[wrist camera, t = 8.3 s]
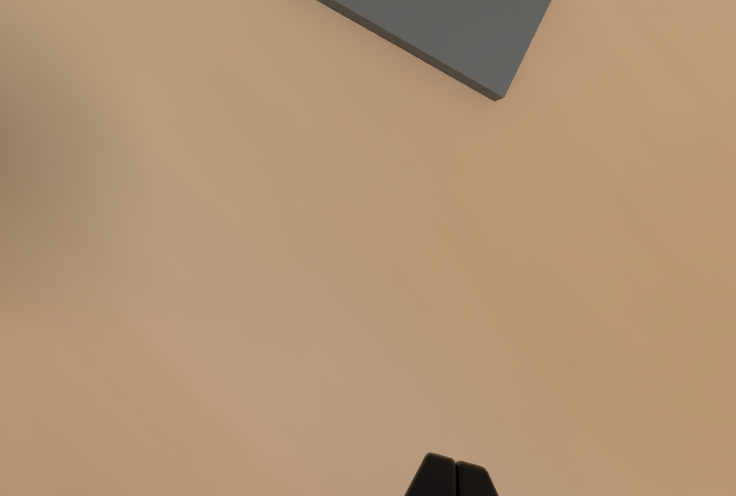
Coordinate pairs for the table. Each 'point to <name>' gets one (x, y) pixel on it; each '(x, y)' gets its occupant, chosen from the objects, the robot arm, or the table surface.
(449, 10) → the grey block
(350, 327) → the table surface
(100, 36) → the table surface
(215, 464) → the table surface
